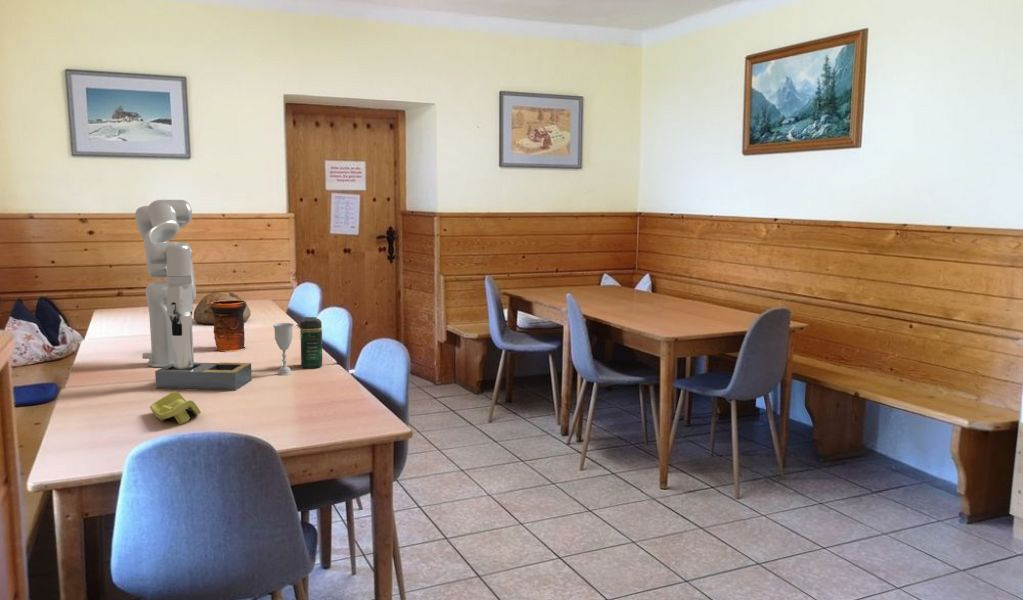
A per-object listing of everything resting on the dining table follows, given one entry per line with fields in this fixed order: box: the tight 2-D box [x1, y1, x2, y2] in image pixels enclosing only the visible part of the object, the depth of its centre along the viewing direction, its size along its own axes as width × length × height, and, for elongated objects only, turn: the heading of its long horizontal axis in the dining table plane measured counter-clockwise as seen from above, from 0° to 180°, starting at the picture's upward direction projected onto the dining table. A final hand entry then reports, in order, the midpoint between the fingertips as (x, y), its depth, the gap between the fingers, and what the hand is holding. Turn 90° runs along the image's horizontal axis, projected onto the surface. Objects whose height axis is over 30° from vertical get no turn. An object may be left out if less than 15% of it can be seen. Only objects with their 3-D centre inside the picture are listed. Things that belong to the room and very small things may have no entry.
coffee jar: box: [299, 316, 323, 369], centre depth 295 cm, size 10×8×19 cm
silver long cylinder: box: [172, 312, 195, 370], centre depth 266 cm, size 6×6×25 cm
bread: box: [193, 291, 251, 325], centre depth 394 cm, size 26×23×15 cm
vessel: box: [210, 300, 247, 353], centre depth 327 cm, size 14×14×20 cm
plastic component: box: [149, 391, 202, 425], centre depth 227 cm, size 20×7×10 cm
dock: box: [154, 361, 253, 391], centre depth 267 cm, size 27×14×6 cm, turn 87°
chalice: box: [272, 322, 294, 376], centre depth 283 cm, size 7×7×18 cm
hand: (182, 333), depth 265 cm, fingers closed on silver long cylinder, 6 cm apart
